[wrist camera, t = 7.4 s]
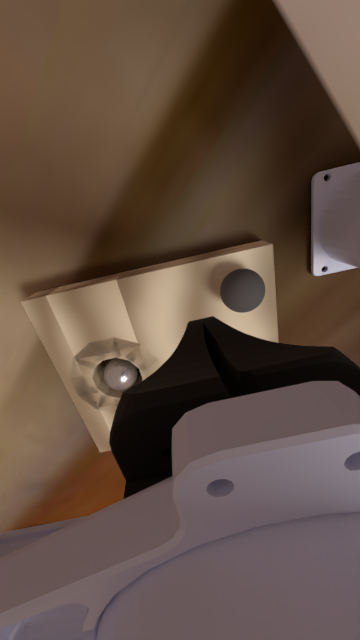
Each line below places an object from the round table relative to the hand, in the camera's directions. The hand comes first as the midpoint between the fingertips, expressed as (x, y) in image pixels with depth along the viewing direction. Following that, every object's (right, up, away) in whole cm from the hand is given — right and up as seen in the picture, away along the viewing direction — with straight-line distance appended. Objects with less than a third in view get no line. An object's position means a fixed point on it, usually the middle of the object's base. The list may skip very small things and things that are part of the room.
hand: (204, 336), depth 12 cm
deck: (-2, -3, +13) cm, 13 cm away
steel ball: (-7, -4, +11) cm, 14 cm away
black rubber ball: (+3, +3, +6) cm, 7 cm away
